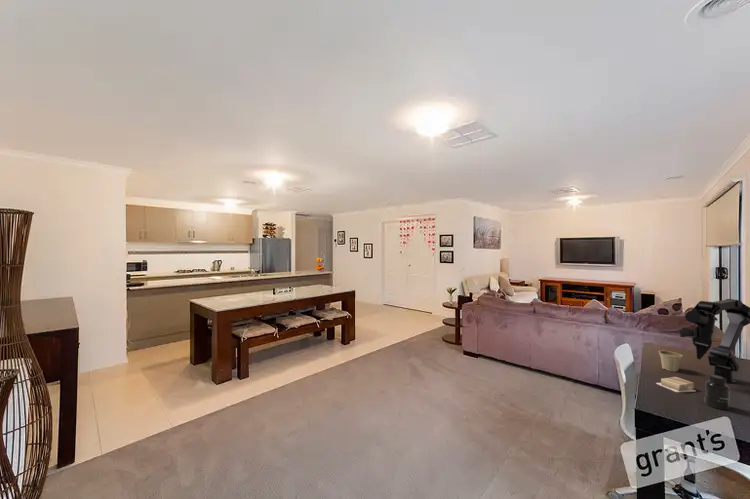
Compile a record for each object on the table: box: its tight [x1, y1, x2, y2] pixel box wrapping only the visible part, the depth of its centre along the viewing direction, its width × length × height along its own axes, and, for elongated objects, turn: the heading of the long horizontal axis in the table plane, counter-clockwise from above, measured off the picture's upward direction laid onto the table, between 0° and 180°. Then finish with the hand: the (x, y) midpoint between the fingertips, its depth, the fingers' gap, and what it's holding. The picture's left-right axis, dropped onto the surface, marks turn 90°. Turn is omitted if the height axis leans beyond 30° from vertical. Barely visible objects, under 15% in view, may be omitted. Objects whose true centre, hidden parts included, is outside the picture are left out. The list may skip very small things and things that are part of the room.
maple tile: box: [660, 376, 695, 391], centre depth 145 cm, size 3×7×10 cm
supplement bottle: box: [704, 374, 731, 411], centre depth 128 cm, size 7×7×12 cm
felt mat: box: [655, 382, 697, 393], centre depth 145 cm, size 10×9×1 cm
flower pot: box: [658, 350, 684, 372], centre depth 168 cm, size 9×9×9 cm
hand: (698, 359), depth 149 cm, fingers closed
